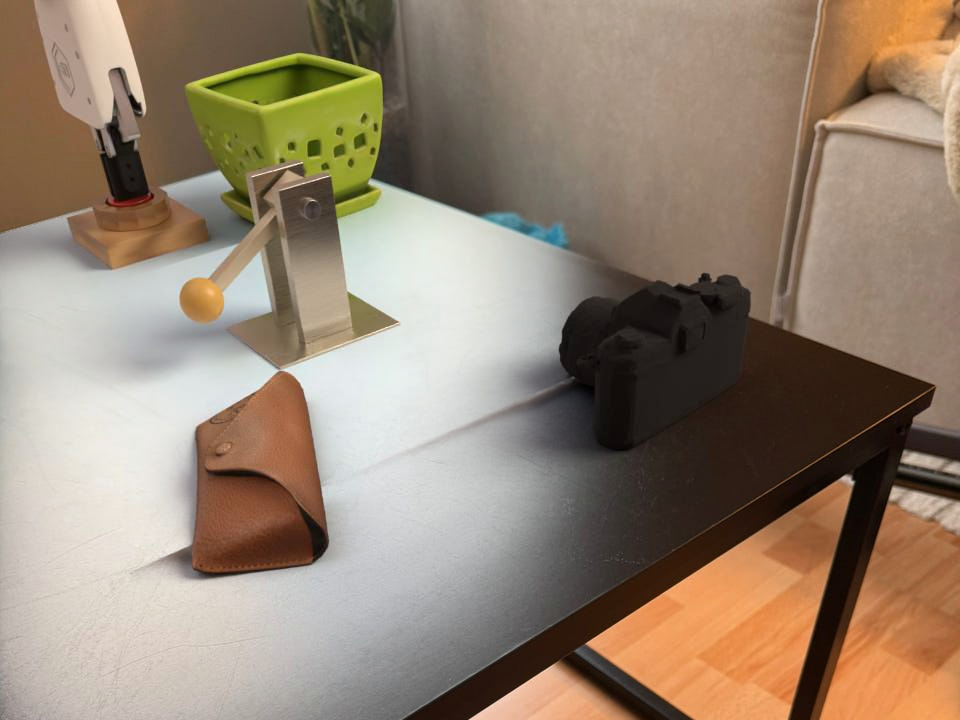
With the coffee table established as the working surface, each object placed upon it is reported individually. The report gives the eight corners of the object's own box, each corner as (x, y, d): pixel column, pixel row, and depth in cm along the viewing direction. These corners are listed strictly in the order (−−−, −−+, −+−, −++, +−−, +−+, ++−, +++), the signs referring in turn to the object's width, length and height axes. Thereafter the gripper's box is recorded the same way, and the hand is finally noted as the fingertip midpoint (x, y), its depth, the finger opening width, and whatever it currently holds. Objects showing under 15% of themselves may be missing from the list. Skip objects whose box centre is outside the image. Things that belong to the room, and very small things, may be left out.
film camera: (654, 338, 79) (663, 222, 73) (757, 379, 74) (776, 258, 68) (517, 412, 72) (514, 290, 66) (620, 463, 67) (628, 336, 61)
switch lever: (211, 338, 75) (182, 309, 72) (192, 323, 76) (163, 295, 74) (327, 207, 75) (302, 174, 72) (306, 196, 77) (280, 163, 74)
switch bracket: (283, 381, 77) (249, 210, 68) (228, 341, 82) (191, 177, 74) (402, 336, 82) (384, 170, 73) (343, 300, 87) (320, 142, 78)
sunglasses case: (186, 422, 72) (217, 340, 68) (280, 452, 75) (314, 375, 72) (189, 578, 59) (227, 487, 56) (302, 606, 62) (345, 522, 59)
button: (122, 226, 95) (117, 207, 94) (106, 215, 98) (101, 196, 96) (162, 215, 97) (157, 196, 96) (144, 204, 99) (140, 186, 98)
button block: (112, 270, 94) (100, 227, 91) (73, 239, 100) (60, 198, 97) (210, 241, 98) (200, 198, 95) (166, 213, 104) (156, 172, 101)
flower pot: (321, 181, 109) (302, 48, 100) (401, 214, 101) (387, 73, 92) (208, 218, 102) (177, 79, 94) (283, 256, 95) (257, 108, 86)
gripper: (-6, -35, 87) (64, 186, 99) (56, -12, 78) (125, 228, 90) (77, -49, 90) (136, 167, 102) (147, -28, 81) (201, 206, 93)
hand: (131, 195), depth 96 cm, fingers closed
